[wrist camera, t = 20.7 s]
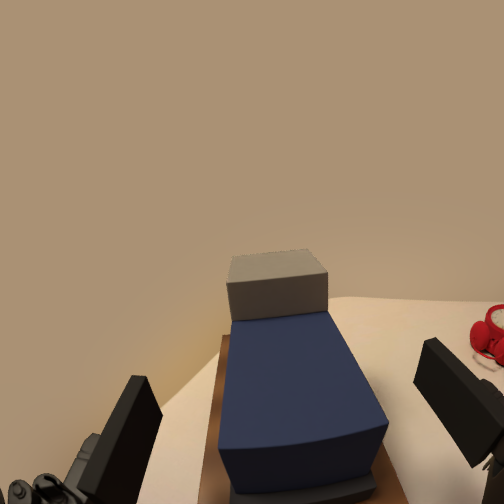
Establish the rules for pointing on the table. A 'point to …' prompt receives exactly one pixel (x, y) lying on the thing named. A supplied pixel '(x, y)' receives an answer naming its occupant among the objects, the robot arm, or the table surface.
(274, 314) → the stacked block toy
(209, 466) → the low wooden table
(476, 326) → the alarm clock
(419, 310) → the table surface
